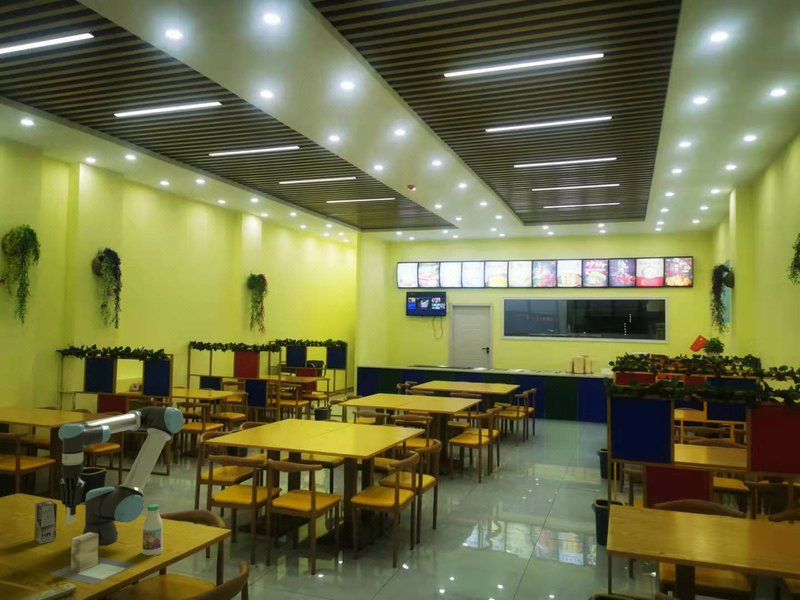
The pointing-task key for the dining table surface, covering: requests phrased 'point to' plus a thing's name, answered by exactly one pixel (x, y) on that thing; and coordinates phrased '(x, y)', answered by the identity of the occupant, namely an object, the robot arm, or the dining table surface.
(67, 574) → the topple mat
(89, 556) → the maple block
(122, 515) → the robot arm
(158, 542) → the milk bottle
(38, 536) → the coffee box
